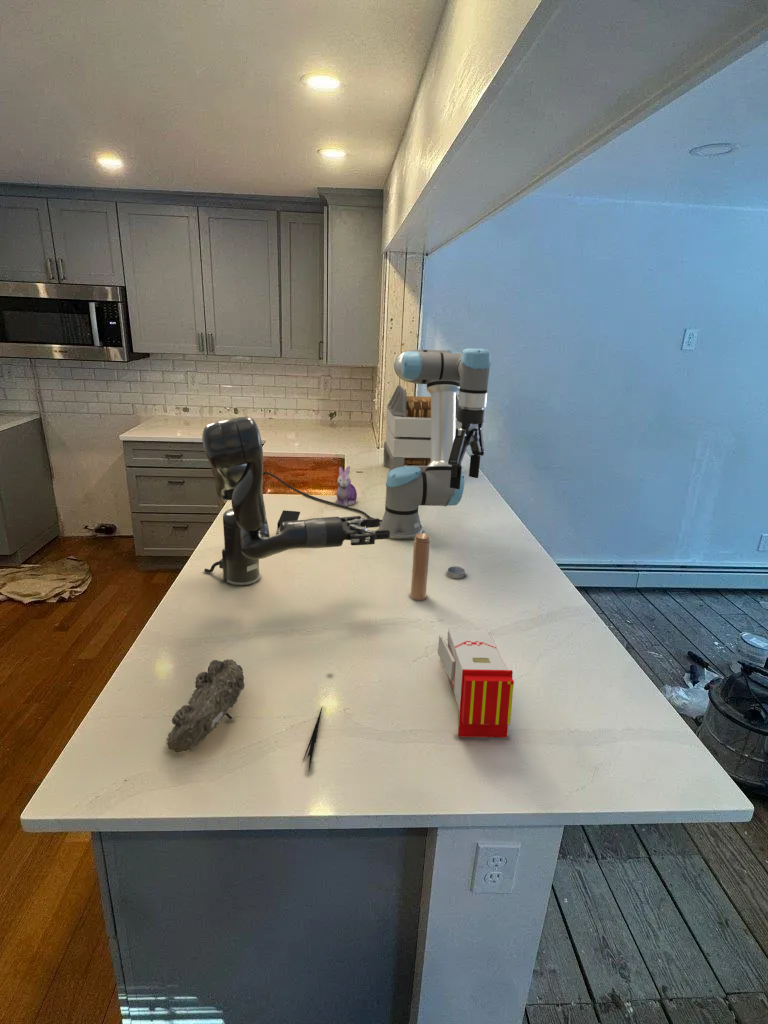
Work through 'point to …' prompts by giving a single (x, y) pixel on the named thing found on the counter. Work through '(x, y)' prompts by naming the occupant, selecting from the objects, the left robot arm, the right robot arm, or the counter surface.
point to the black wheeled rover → (287, 517)
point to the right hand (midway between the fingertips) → (464, 482)
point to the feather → (313, 740)
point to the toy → (478, 682)
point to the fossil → (206, 705)
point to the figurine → (345, 488)
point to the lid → (456, 572)
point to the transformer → (409, 430)
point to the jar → (420, 566)
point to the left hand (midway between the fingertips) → (384, 528)
